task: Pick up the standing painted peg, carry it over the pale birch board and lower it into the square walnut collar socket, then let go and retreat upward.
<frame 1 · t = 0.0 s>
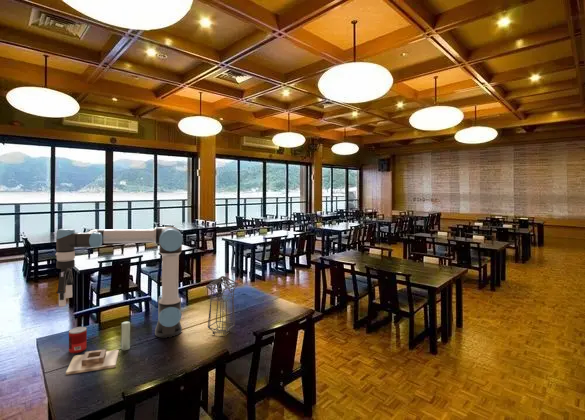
hand: (65, 301, 166), 28 cm above the table, fingers open, 13 cm apart
canned food: (77, 350, 174), on the table
socket board: (94, 362, 162), on the table
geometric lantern: (221, 333, 201), on the table
peg: (125, 348, 177), on the table
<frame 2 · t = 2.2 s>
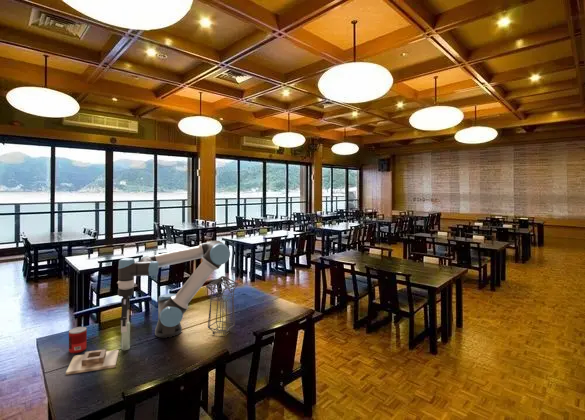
hand: (125, 326, 176), 12 cm above the table, fingers open, 13 cm apart
nothing on the table moved.
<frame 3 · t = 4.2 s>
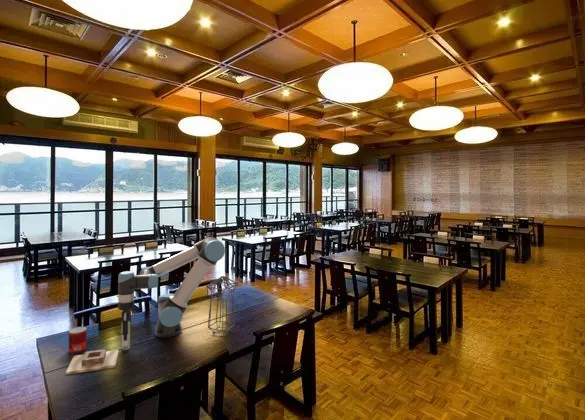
hand: (125, 343, 177), 3 cm above the table, fingers closed on peg, 4 cm apart
peg: (125, 348, 177), on the table, touching gripper
everything else where it was.
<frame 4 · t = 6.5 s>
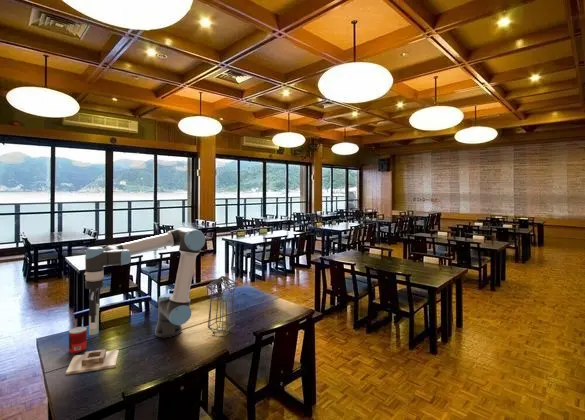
hand: (94, 326, 161), 18 cm above the table, fingers closed on peg, 4 cm apart
peg: (93, 333, 161), point 15 cm above the table, touching gripper
everything else where it was.
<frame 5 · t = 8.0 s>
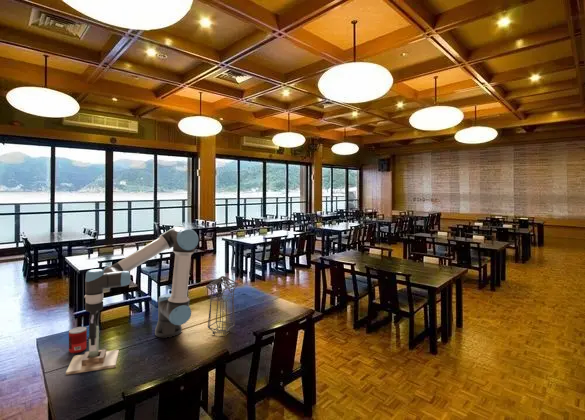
hand: (93, 348, 161), 7 cm above the table, fingers closed on peg, 4 cm apart
peg: (93, 355, 161), point 4 cm above the table, touching gripper
everything else where it was.
when the fingers open (5 cm above the table, at t = 9.1 s): peg stays where it is, resting in socket board.
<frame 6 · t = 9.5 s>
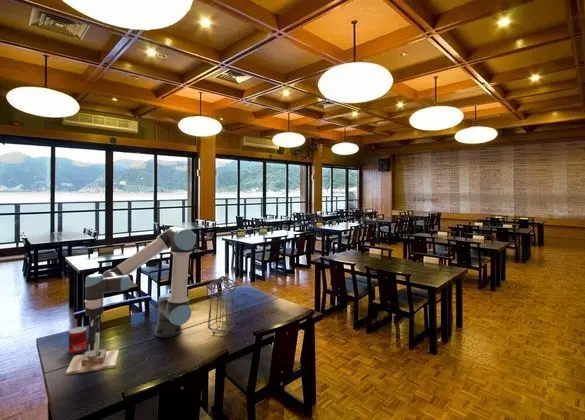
hand: (94, 350, 161), 6 cm above the table, fingers open, 11 cm apart
peg: (94, 362, 162), resting in socket board
everything else where it was.
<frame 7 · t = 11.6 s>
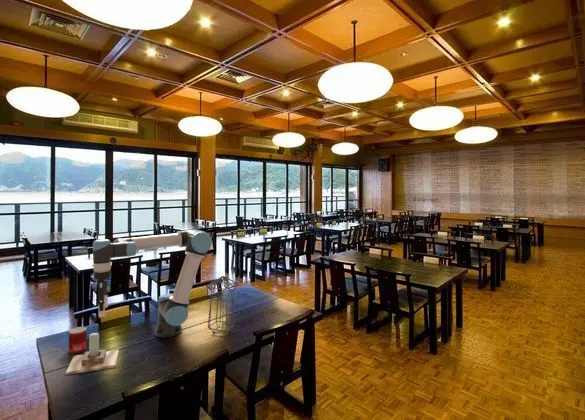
hand: (103, 312, 167), 23 cm above the table, fingers open, 13 cm apart
nothing on the table moved.
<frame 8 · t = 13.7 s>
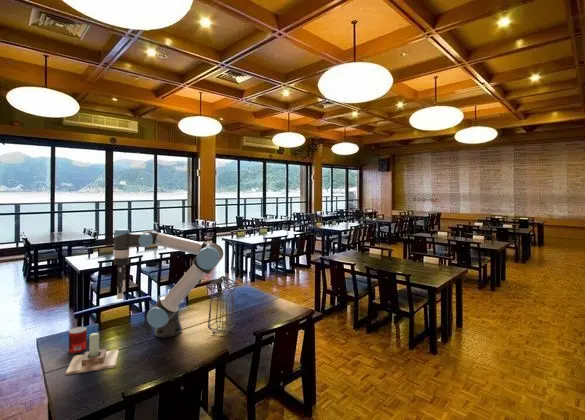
hand: (121, 295, 183), 27 cm above the table, fingers open, 13 cm apart
nothing on the table moved.
at the end: peg 0.1 cm off-centre on the socket board, point 0.0 cm above the socket board's base; peg tilted 0°; the gripper is holding nothing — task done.
